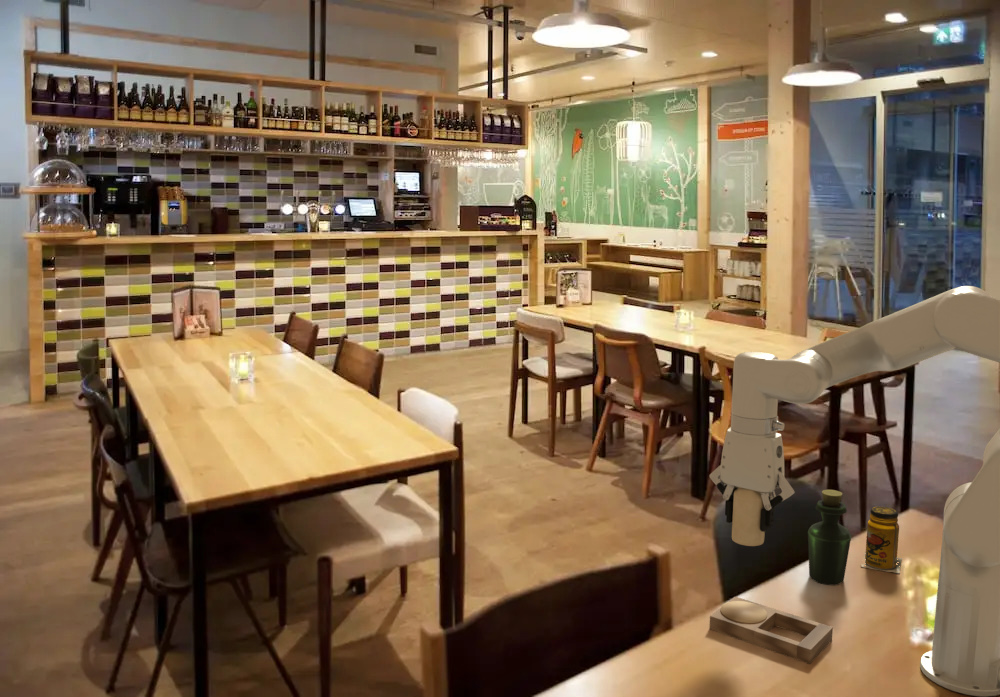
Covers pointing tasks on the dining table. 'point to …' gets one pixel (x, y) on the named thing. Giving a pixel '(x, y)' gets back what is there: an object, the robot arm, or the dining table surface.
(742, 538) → the candle
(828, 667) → the dining table surface
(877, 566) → the condiment
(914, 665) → the dining table surface
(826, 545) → the potion bottle
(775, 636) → the wooden holder tray
